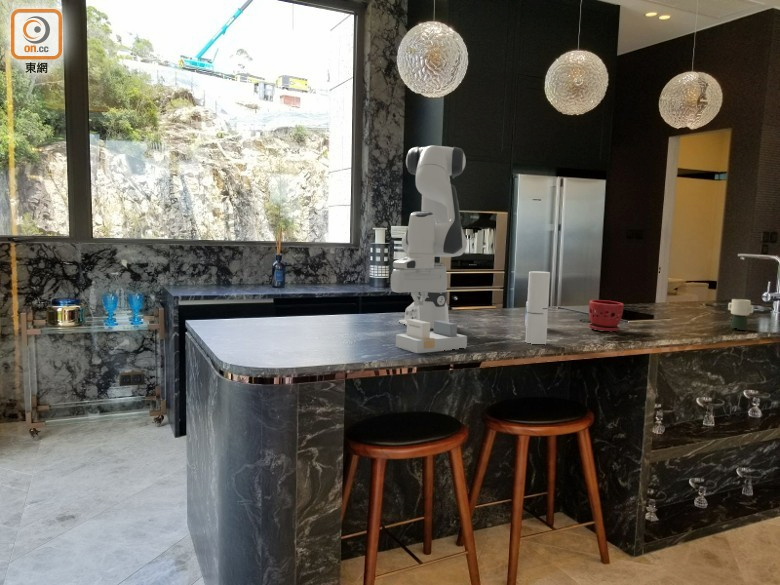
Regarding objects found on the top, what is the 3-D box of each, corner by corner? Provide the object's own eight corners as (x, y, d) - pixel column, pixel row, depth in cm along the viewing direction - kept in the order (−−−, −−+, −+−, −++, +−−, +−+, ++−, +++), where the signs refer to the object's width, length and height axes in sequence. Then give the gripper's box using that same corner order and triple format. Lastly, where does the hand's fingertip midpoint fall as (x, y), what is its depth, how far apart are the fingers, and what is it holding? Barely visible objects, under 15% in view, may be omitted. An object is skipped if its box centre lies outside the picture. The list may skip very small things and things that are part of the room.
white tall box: (550, 344, 209) (554, 272, 206) (535, 345, 205) (539, 272, 203) (536, 340, 215) (539, 271, 213) (520, 342, 212) (524, 271, 209)
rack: (395, 346, 196) (396, 322, 195) (443, 342, 207) (444, 319, 206) (417, 353, 186) (418, 328, 185) (466, 348, 197) (468, 324, 196)
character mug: (756, 331, 253) (759, 301, 251) (746, 332, 250) (748, 301, 248) (731, 327, 262) (734, 298, 261) (721, 328, 259) (723, 298, 258)
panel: (429, 347, 191) (430, 322, 190) (421, 348, 189) (422, 323, 188) (413, 343, 198) (414, 319, 197) (406, 343, 196) (406, 319, 195)
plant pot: (589, 332, 238) (590, 302, 237) (586, 327, 251) (588, 299, 250) (623, 334, 235) (626, 304, 234) (619, 329, 248) (621, 300, 247)
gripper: (440, 262, 199) (438, 303, 200) (388, 262, 188) (387, 305, 189) (452, 263, 194) (450, 305, 195) (399, 263, 183) (398, 308, 184)
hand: (419, 305), depth 192 cm, fingers closed
